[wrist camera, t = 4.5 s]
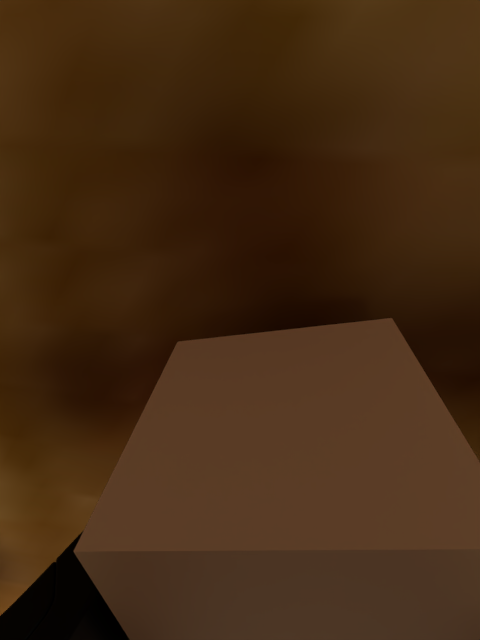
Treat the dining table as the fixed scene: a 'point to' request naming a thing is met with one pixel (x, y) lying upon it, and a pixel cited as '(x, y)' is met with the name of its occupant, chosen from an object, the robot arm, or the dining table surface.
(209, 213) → the dining table surface
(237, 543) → the terracotta block
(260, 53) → the dining table surface
